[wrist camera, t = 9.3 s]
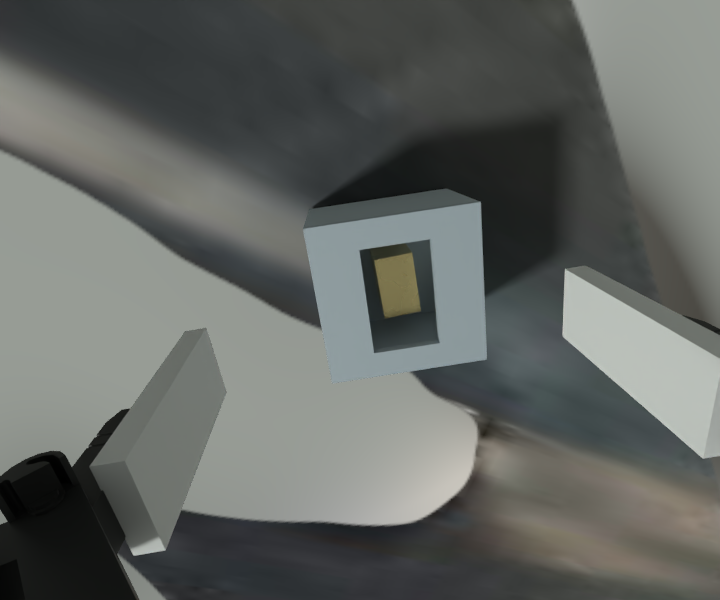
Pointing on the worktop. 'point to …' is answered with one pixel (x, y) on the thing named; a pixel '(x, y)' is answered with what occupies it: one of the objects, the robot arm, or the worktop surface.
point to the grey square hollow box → (433, 275)
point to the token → (395, 280)
